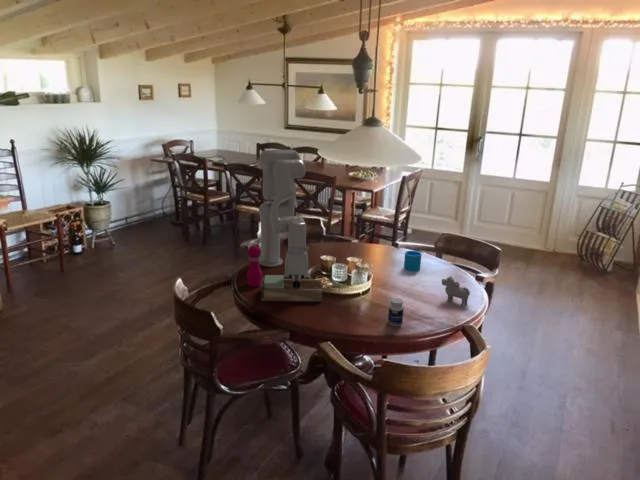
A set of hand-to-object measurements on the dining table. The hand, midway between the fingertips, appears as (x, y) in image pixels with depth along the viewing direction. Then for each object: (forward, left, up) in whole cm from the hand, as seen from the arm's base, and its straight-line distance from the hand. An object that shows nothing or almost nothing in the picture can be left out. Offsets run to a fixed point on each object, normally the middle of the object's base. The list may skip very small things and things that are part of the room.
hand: (296, 288), depth 230 cm
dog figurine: (+5, +69, -3) cm, 69 cm away
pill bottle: (+26, +39, -3) cm, 47 cm away
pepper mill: (-12, -19, -3) cm, 23 cm away
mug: (-36, +59, -4) cm, 69 cm away
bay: (0, -2, -3) cm, 4 cm away
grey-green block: (0, -10, -2) cm, 10 cm away
